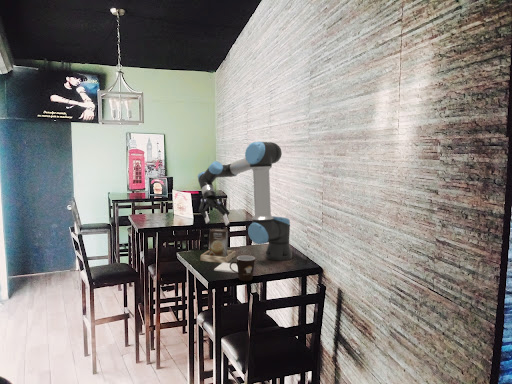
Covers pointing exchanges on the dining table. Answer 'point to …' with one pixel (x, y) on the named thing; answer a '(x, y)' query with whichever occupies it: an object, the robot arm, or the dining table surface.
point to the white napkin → (227, 267)
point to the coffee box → (218, 242)
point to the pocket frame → (226, 259)
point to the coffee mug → (245, 267)
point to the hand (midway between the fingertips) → (217, 223)
